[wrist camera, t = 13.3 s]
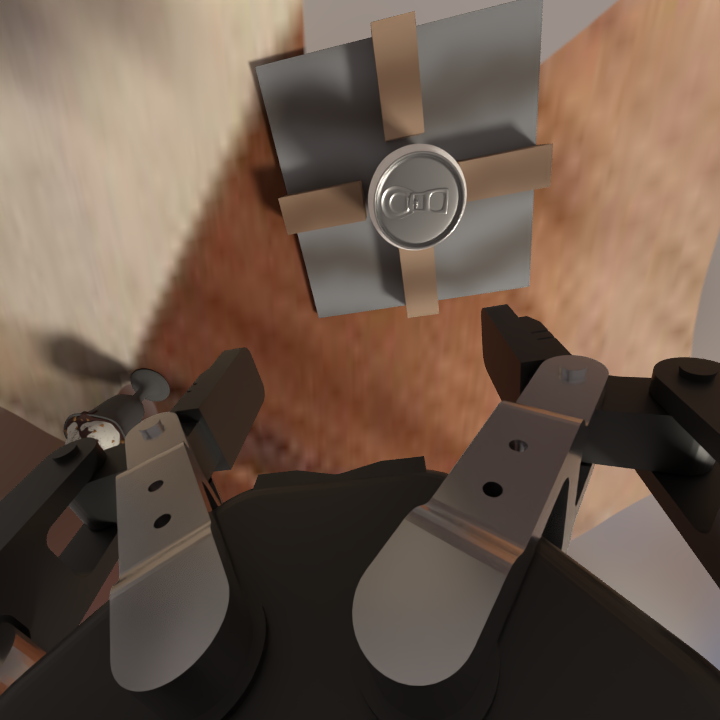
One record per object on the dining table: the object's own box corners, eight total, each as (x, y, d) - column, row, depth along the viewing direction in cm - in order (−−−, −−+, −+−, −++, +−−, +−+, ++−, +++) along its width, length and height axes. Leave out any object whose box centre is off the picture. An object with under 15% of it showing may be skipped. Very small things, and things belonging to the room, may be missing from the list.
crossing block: (258, 69, 30) (240, 56, 26) (537, -1, 27) (564, -28, 23) (320, 314, 40) (313, 331, 36) (525, 283, 37) (542, 298, 33)
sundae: (171, 364, 45) (83, 450, 32) (180, 407, 48) (105, 501, 35) (118, 360, 45) (9, 443, 32) (131, 403, 48) (38, 495, 35)
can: (370, 148, 31) (364, 144, 21) (446, 145, 31) (478, 139, 20) (372, 227, 34) (367, 257, 24) (441, 225, 34) (467, 255, 24)
